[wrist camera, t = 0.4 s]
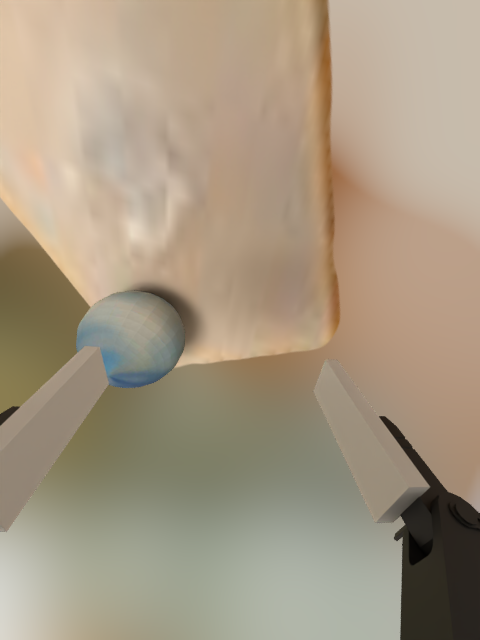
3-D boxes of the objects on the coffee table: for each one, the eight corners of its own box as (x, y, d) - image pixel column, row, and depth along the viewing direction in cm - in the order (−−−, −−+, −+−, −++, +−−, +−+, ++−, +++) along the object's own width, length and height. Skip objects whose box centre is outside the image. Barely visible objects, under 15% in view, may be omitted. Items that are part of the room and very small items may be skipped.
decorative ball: (97, 302, 38) (23, 362, 26) (151, 257, 33) (88, 306, 20) (158, 352, 45) (121, 419, 33) (211, 322, 39) (190, 389, 27)
